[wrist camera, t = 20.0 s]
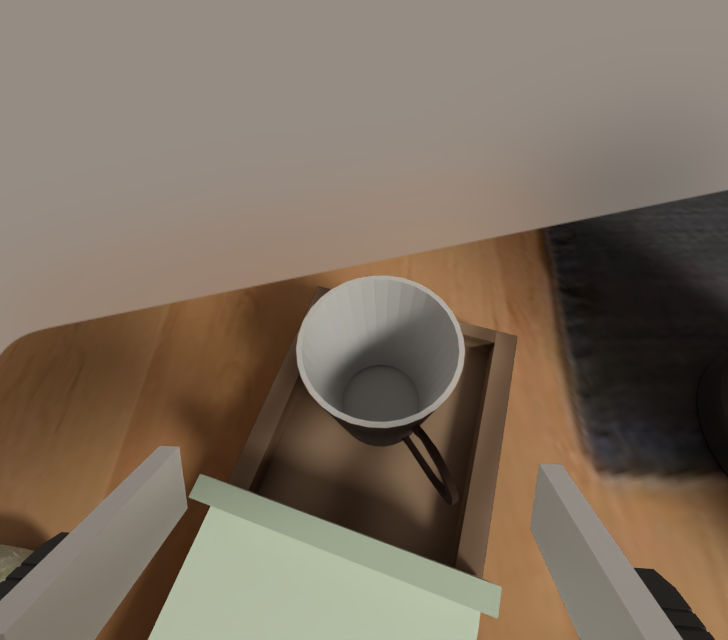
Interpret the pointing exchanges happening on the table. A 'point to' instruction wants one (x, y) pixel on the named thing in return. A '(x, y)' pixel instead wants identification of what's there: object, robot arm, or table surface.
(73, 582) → the robot arm
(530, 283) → the table surface
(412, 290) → the coffee mug
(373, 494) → the brown wooden shallow box
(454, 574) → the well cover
